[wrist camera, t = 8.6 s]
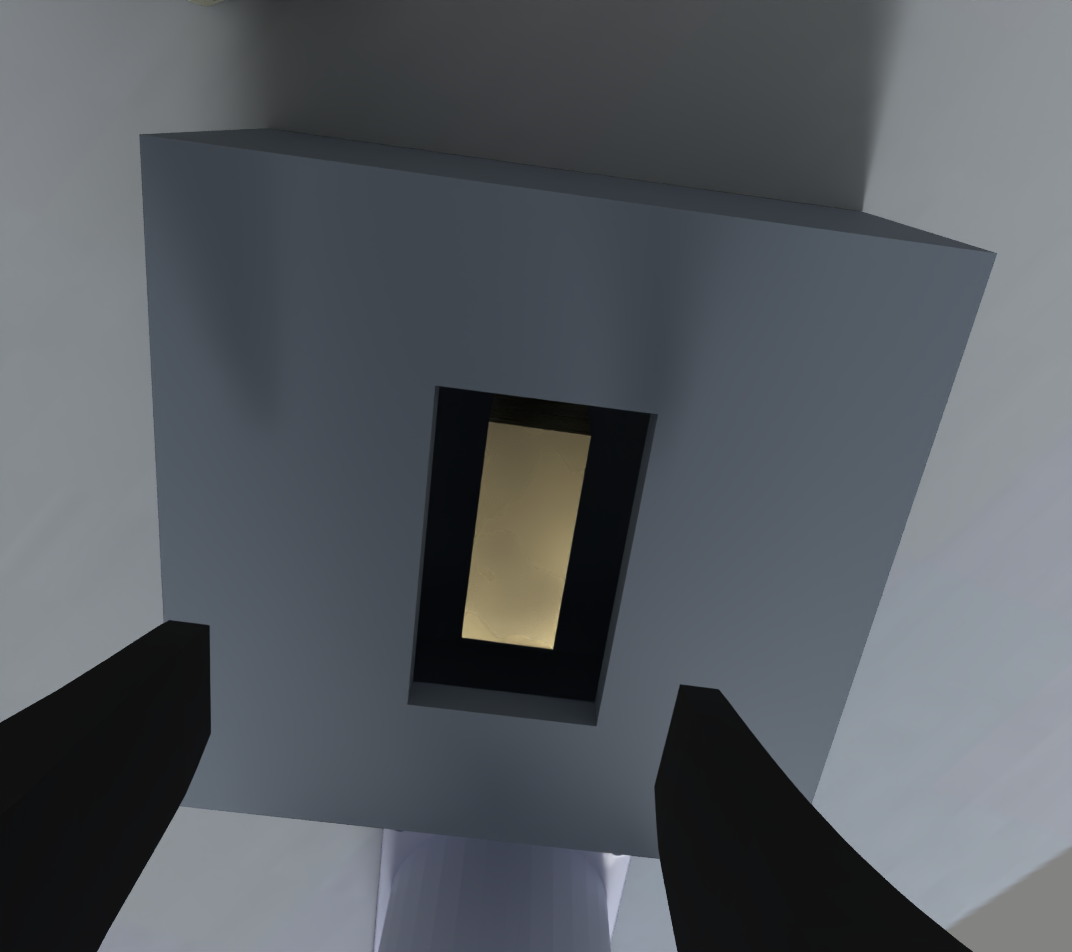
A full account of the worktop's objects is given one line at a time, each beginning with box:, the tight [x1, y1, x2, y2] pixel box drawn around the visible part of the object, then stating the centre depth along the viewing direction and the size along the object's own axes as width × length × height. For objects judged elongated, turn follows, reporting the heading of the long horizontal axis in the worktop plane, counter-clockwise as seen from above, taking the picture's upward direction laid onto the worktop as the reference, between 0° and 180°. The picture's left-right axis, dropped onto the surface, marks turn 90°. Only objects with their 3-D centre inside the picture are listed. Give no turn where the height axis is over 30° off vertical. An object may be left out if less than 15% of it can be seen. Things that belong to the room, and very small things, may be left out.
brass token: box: [462, 393, 591, 649], centre depth 20 cm, size 5×2×5 cm, turn 172°
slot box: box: [140, 128, 997, 859], centre depth 19 cm, size 14×14×6 cm
